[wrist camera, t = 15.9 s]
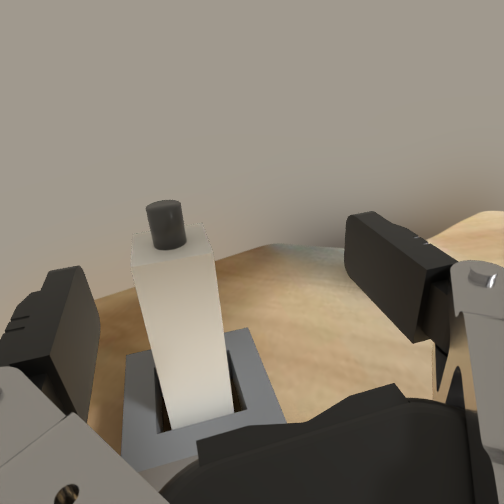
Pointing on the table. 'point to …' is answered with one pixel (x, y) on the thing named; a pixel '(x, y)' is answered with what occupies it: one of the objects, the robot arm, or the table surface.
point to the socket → (184, 439)
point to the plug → (182, 315)
